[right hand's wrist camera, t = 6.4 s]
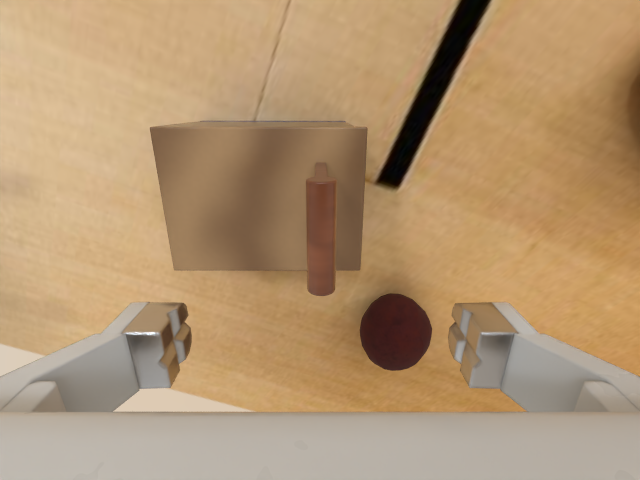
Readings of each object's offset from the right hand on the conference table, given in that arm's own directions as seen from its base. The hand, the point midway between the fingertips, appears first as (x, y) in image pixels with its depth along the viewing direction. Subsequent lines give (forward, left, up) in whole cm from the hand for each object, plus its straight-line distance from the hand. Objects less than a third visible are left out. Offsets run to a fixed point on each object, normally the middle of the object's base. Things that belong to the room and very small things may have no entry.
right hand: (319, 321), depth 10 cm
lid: (+4, 0, -15) cm, 15 cm away
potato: (-6, +16, -24) cm, 30 cm away
